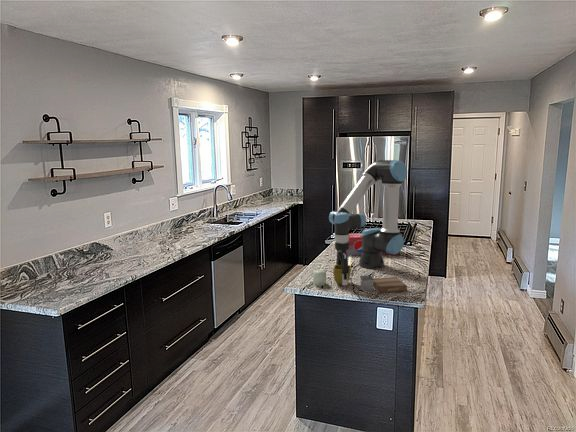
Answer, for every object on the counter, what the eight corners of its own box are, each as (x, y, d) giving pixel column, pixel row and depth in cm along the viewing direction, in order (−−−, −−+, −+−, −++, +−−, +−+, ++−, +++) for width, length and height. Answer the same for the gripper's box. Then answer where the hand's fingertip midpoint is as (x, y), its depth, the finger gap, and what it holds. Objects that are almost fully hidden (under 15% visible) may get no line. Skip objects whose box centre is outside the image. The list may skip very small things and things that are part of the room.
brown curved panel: (371, 284, 224) (371, 278, 223) (396, 282, 225) (396, 277, 225) (380, 293, 210) (380, 287, 209) (406, 291, 211) (406, 285, 211)
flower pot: (351, 280, 229) (351, 265, 228) (349, 286, 221) (349, 269, 219) (335, 280, 231) (335, 264, 230) (333, 285, 223) (333, 269, 221)
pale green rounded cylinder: (312, 282, 230) (312, 269, 229) (324, 281, 231) (324, 269, 229) (314, 286, 223) (314, 273, 222) (327, 285, 224) (327, 272, 223)
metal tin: (360, 288, 218) (360, 275, 217) (370, 287, 218) (370, 275, 217) (363, 291, 213) (363, 279, 211) (373, 291, 213) (373, 278, 212)
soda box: (399, 251, 291) (399, 233, 288) (400, 256, 277) (401, 237, 275) (341, 249, 299) (341, 232, 297) (339, 255, 285) (339, 236, 283)
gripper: (330, 237, 233) (331, 275, 237) (340, 247, 211) (340, 289, 215) (343, 236, 234) (344, 274, 238) (354, 246, 212) (354, 288, 215)
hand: (342, 281), depth 226 cm, fingers closed on flower pot, 10 cm apart
